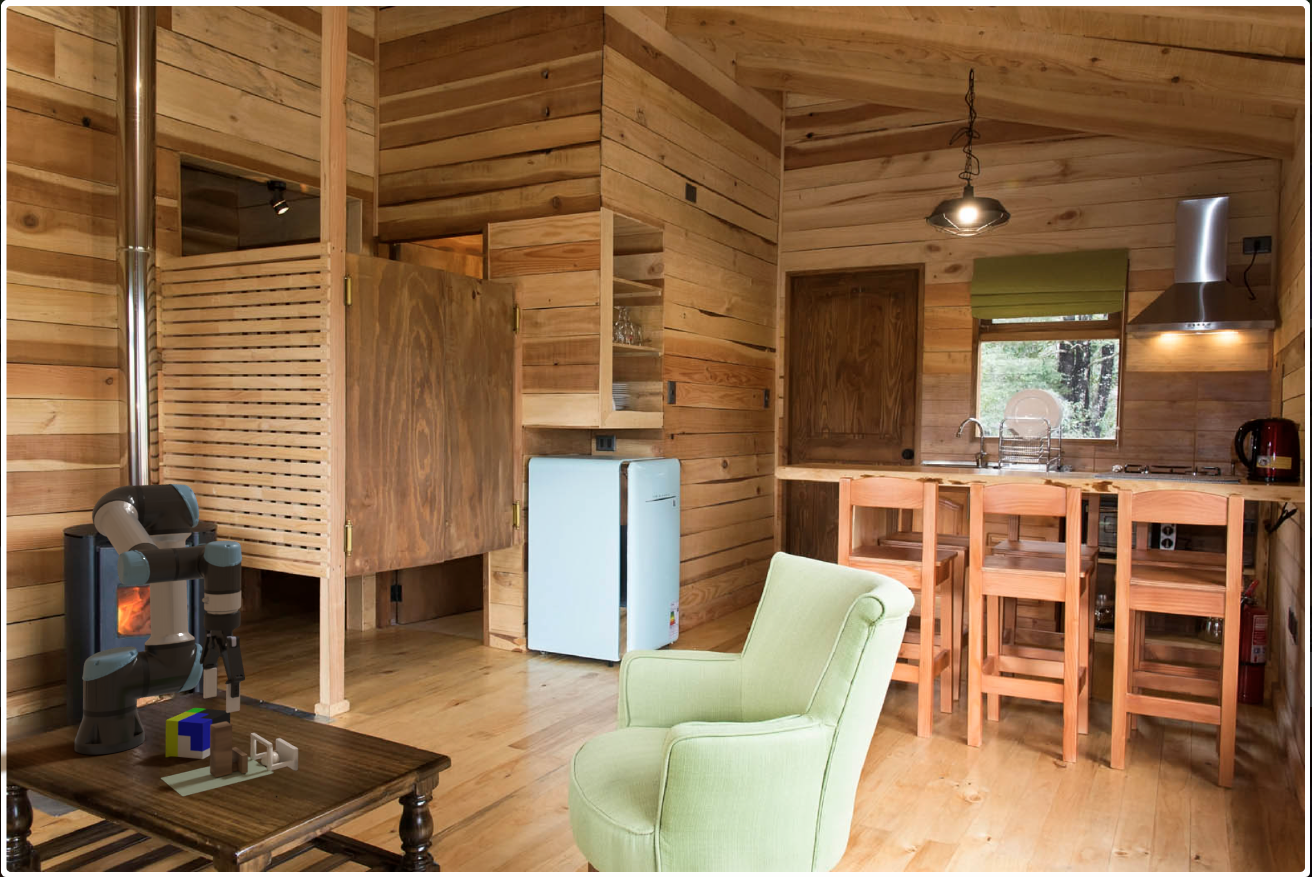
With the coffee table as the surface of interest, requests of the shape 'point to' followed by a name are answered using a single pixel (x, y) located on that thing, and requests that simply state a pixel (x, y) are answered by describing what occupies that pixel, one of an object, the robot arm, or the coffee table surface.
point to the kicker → (225, 752)
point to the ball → (274, 758)
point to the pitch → (206, 781)
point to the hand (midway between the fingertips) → (221, 704)
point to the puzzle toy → (192, 732)
